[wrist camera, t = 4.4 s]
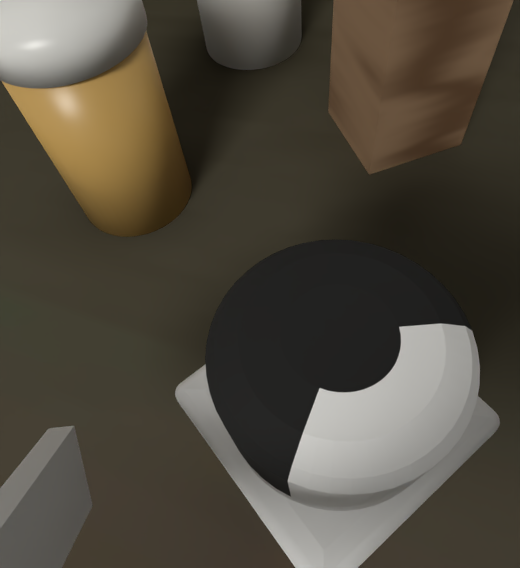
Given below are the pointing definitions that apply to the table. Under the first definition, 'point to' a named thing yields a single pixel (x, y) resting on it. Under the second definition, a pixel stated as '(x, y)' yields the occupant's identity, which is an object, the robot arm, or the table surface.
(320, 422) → the medicine bottle
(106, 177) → the amber jar
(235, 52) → the white tub
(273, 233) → the table surface
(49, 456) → the robot arm
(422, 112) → the walnut block
